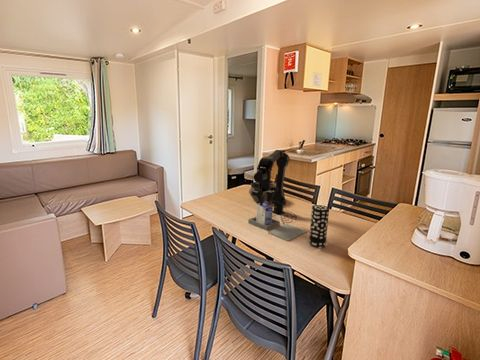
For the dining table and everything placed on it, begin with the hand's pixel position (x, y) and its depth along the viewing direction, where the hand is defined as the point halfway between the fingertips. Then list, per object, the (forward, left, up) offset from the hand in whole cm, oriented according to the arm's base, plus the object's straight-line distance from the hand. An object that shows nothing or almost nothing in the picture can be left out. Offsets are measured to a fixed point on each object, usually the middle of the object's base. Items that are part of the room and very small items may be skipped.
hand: (264, 204), depth 160 cm
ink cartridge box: (0, 0, -13) cm, 13 cm away
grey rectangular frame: (0, 0, -13) cm, 13 cm away
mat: (-1, +17, -13) cm, 21 cm away
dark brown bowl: (-34, -30, -13) cm, 47 cm away
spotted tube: (-1, +36, -13) cm, 38 cm away
